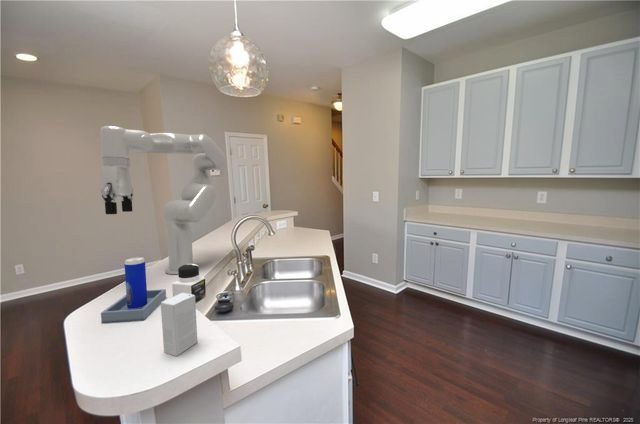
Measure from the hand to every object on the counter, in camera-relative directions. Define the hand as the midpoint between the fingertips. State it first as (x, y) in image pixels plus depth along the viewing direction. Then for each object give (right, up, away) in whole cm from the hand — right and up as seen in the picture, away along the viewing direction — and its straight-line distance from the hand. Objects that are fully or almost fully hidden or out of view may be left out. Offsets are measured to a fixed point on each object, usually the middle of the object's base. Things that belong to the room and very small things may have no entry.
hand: (119, 212), depth 94 cm
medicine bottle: (+28, -29, -6) cm, 41 cm away
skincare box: (+38, -32, -31) cm, 59 cm away
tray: (+14, -30, -12) cm, 35 cm away
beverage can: (+14, -29, -12) cm, 35 cm away
